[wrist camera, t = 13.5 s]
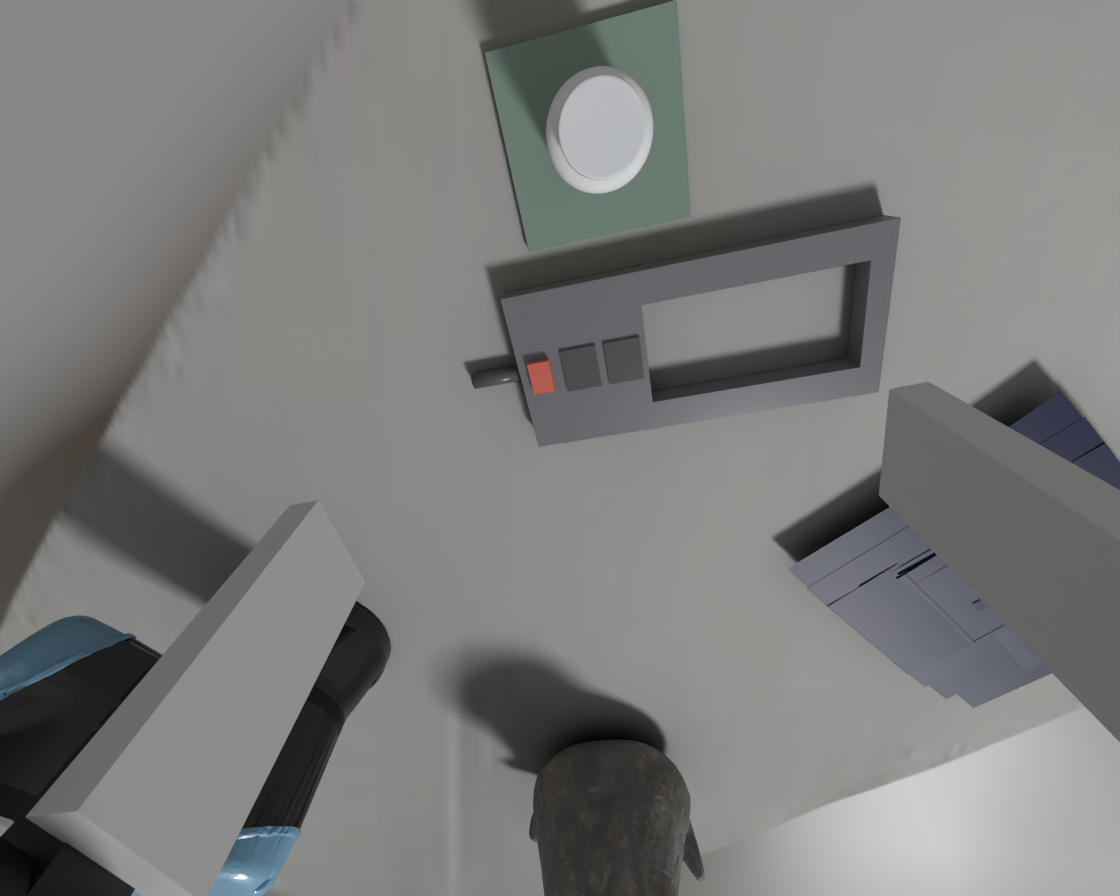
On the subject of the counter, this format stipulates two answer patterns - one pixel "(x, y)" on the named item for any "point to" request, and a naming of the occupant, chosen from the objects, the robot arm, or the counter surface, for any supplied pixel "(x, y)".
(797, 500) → the counter surface
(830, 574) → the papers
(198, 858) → the robot arm
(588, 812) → the vessel
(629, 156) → the supplement bottle
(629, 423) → the rectangular frame
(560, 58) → the rubber mat
